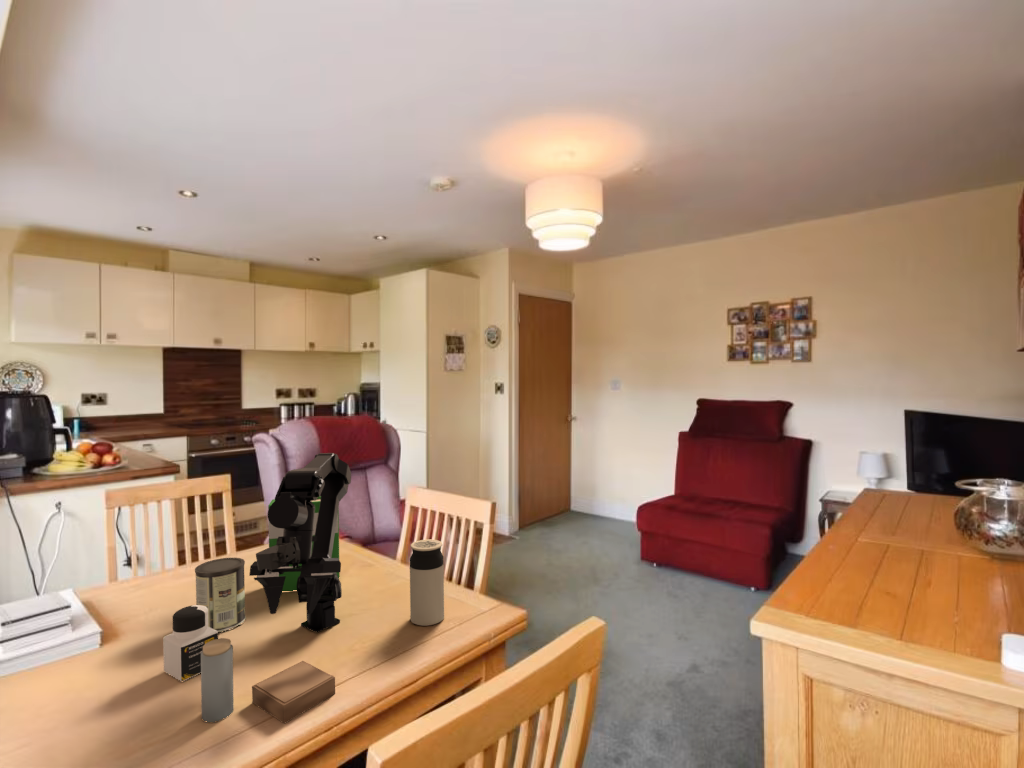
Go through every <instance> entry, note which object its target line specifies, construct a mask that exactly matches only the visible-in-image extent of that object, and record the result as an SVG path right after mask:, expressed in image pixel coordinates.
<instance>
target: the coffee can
mask: <svg viewBox="0 0 1024 768" xmlns="http://www.w3.org/2000/svg"><path fill="white" fill-rule="evenodd" d="M245 564H246V561H245V559H243V558H240V557H223V558H216V559H213V560H210V561H205V562H203V563H200V564H199V565H197V566H196V567H195V568H194V572H195V597H196V598H195V599H196V601H195V603H196V604H195V605H202V606H206V607H207V608H208V627H210V628H212V629H215V630H217V631H218V632H221V633H223V632H222V631H225V632H227V631H226V630H229V629H232V628H234V627H236V626H238V625H240V624H241V623H243V622H244V620H245V619H247V617H246V597H245V596H246V595H245V594H246V592H245V587H246V586H245ZM245 621H246V620H245ZM244 623H245V622H244ZM244 623H243V624H244ZM241 625H242V624H241ZM241 625H240V626H241ZM238 627H239V626H238ZM236 628H237V627H236ZM234 629H235V628H234ZM232 630H233V629H232ZM229 631H230V630H229Z"/></svg>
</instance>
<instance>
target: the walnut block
mask: <svg viewBox="0 0 1024 768" xmlns="http://www.w3.org/2000/svg"><path fill="white" fill-rule="evenodd" d="M251 690H252V691H251V692H252V693H251V694H252V697H251V699H252V700H251V701H252V702H253V703H252V702H251V703H252V704H254V705H255V704H256V705H255V706H257V707H258V706H259V708H260V709H261V708H262V709H261V710H263V711H264V710H265V711H264V712H266V713H267V712H268V714H269V715H270V716H272V717H274V718H275V719H277V720H278V719H279V720H278V721H280V722H281V721H282V722H281V723H283V724H286V723H287V721H288V722H289V721H291V720H292V719H293V720H294V718H296V717H297V716H300V715H301V714H303V713H305V712H306V711H307V710H309V708H310V709H311V708H314V707H315V706H317V705H319V704H320V703H321V702H324V701H325V700H327V699H329V698H331V697H332V696H333V695H335V694H336V676H334V675H331V674H329V673H328V672H326V671H324V670H321V669H320V668H318V667H316V666H314V665H311V664H310V663H308V662H307V661H304V660H301V661H300V662H297V663H296V664H294V665H291V666H289V667H288V668H286V669H283V670H282V671H279V672H277V673H276V674H273V675H272V676H269V677H268V678H265V679H263V680H261V681H260V682H258V683H254V684H253V685H252V686H251ZM304 711H305V712H304ZM302 712H303V713H302ZM285 722H286V723H285Z"/></svg>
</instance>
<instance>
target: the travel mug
mask: <svg viewBox="0 0 1024 768" xmlns="http://www.w3.org/2000/svg"><path fill="white" fill-rule="evenodd" d="M442 546H443V542H442V541H440V540H438V539H430V538H429V539H428V538H427V539H421V540H416V541H414V542H412V543H410V548H411V552H412V553H411V555H410V557H409V588H410V589H409V596H410V597H409V602H410V603H409V605H410V616H409V617H410V622H411V623H412V624H413V625H414V624H415V625H416V626H423V627H427V626H433V625H437V624H438V623H441V622H442V621H443V620H444V619H445V576H444V573H445V572H444V570H445V567H444V565H445V563H444V554H443V553H442Z"/></svg>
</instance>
